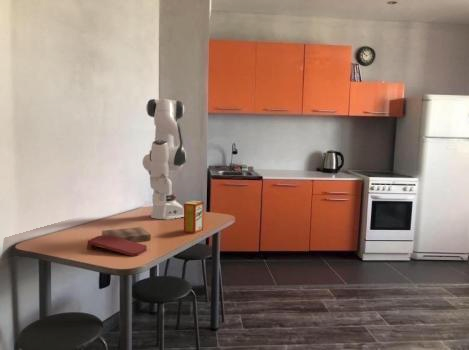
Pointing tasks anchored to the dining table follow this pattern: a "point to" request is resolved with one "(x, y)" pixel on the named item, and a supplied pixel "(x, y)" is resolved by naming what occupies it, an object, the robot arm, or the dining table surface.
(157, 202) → the cream block
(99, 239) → the carton
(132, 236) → the plinth
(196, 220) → the baking soda box
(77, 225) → the dining table surface
